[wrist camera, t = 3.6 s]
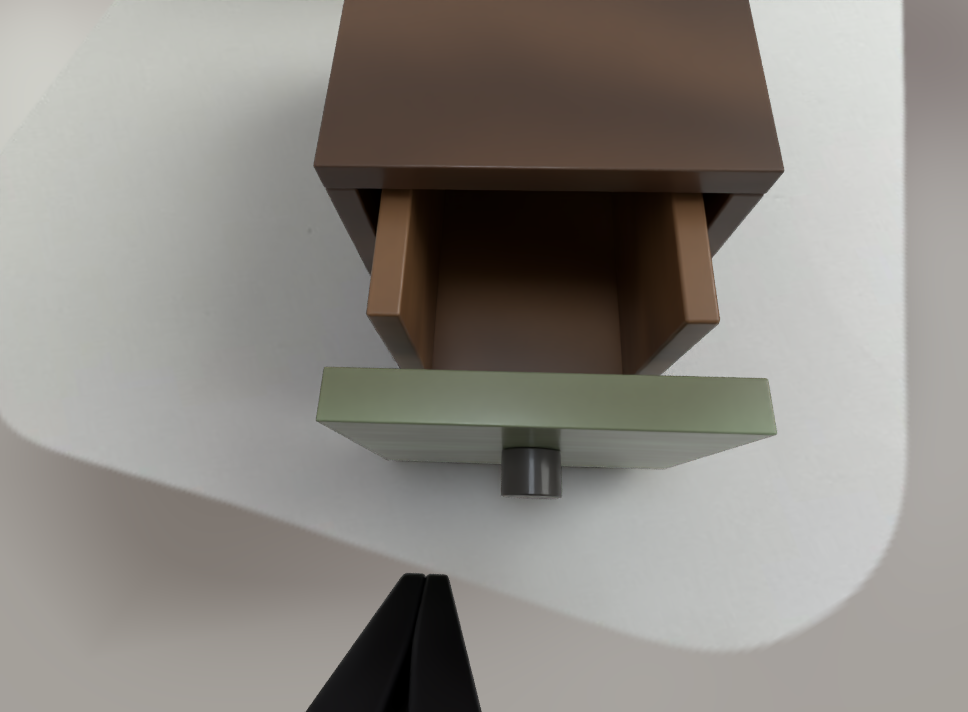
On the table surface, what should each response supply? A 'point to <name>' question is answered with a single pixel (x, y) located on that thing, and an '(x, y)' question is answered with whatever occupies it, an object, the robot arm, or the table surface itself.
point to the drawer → (542, 336)
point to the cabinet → (547, 103)
